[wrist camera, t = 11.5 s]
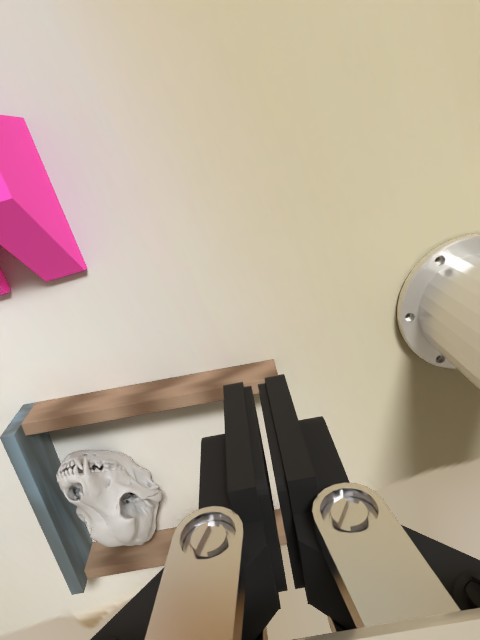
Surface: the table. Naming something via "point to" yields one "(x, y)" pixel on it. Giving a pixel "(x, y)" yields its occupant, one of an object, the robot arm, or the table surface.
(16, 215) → the bracket
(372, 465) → the table surface
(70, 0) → the table surface
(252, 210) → the table surface
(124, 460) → the skull
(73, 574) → the bay
